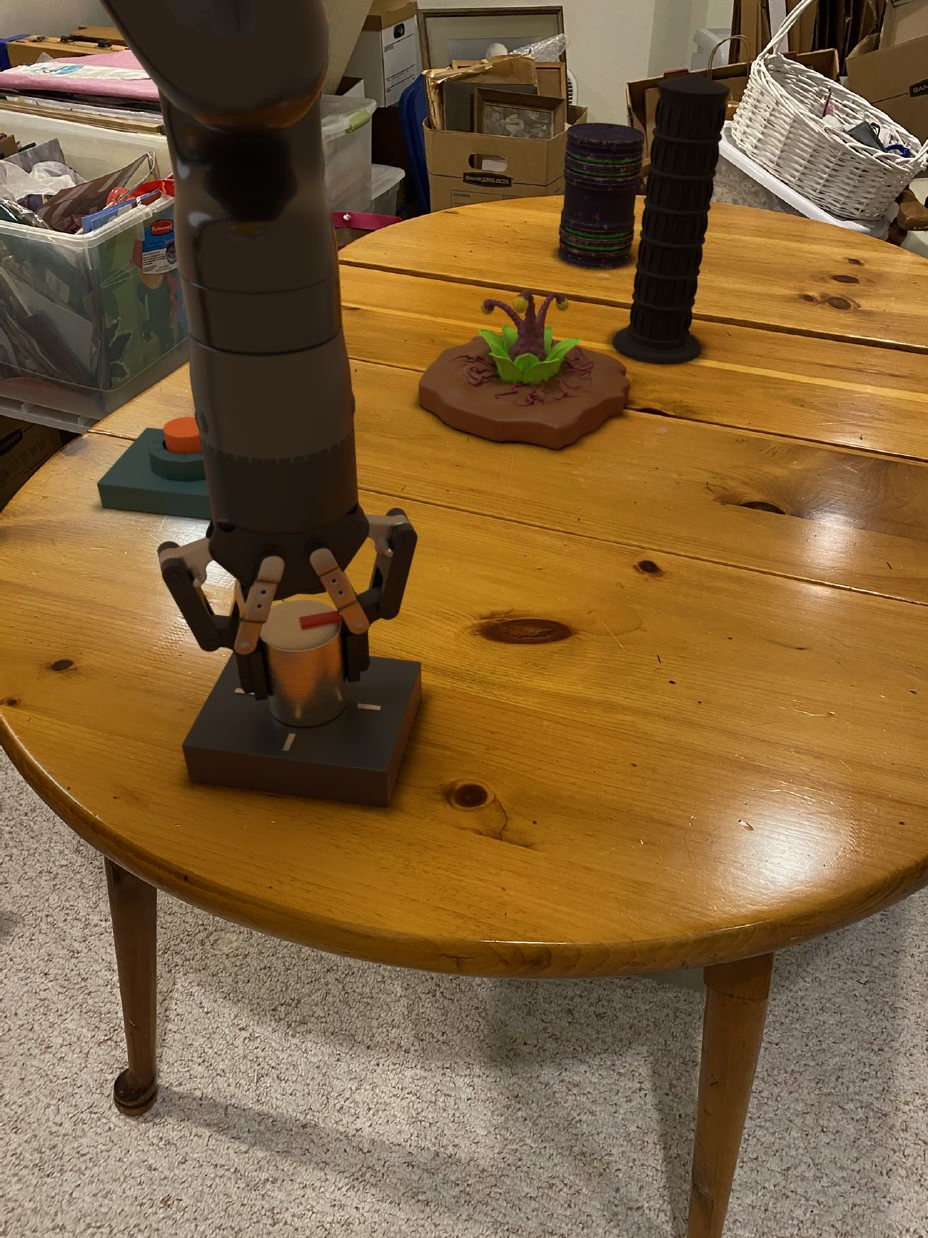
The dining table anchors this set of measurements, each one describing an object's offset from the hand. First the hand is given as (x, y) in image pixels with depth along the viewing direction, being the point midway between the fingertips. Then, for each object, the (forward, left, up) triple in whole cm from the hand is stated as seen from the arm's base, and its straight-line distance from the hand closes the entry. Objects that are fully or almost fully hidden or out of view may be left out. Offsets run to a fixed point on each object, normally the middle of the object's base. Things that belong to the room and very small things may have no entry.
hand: (305, 681), depth 61 cm
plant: (+7, +51, -5) cm, 52 cm away
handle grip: (+20, +68, -5) cm, 71 cm away
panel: (0, 0, -5) cm, 5 cm away
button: (-18, +28, -1) cm, 33 cm away
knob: (0, 0, -2) cm, 2 cm away
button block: (-18, +28, -5) cm, 34 cm away
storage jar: (+11, +96, -5) cm, 97 cm away
